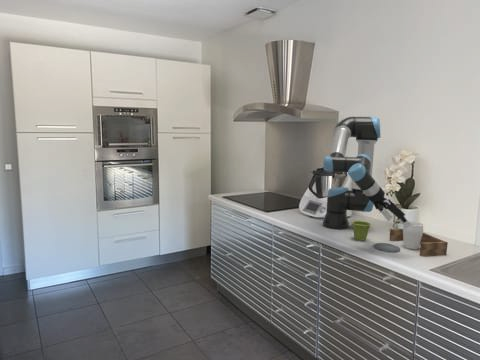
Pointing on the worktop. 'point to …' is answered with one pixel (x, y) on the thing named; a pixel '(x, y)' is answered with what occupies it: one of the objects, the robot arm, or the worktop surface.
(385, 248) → the disc
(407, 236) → the cup
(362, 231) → the plant pot
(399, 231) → the u-shaped wooden rail
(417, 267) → the worktop surface
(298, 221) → the worktop surface
